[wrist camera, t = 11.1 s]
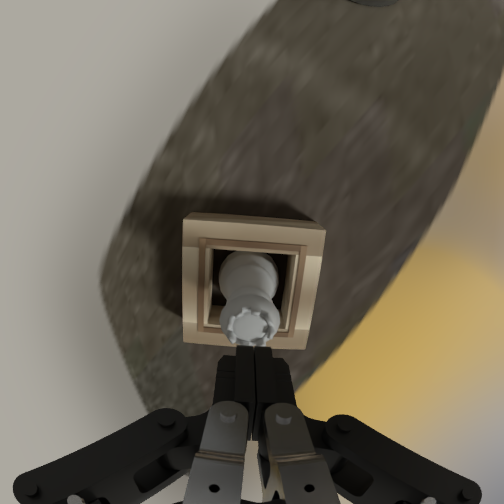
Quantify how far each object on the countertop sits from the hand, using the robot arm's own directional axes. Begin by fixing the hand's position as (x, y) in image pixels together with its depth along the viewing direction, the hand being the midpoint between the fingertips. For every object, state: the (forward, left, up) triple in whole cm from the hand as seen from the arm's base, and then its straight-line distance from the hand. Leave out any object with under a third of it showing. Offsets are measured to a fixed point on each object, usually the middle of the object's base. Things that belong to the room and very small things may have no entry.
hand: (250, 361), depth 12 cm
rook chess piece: (0, 0, -11) cm, 11 cm away
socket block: (0, 0, -10) cm, 10 cm away
